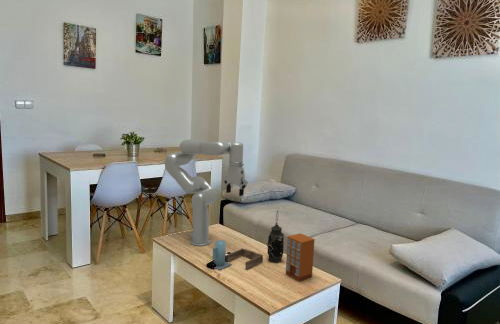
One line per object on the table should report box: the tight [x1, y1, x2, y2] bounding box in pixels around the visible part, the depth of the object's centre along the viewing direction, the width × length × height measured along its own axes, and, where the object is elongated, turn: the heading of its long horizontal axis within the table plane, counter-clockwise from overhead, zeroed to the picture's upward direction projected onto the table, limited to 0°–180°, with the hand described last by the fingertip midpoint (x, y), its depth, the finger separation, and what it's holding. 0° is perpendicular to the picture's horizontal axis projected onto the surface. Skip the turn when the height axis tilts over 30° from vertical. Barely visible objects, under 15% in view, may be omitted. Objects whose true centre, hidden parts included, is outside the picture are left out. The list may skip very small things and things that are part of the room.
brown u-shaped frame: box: [225, 248, 264, 271], centre depth 206 cm, size 14×14×4 cm
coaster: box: [213, 261, 233, 271], centre depth 201 cm, size 9×9×1 cm
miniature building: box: [285, 232, 316, 282], centre depth 191 cm, size 10×9×20 cm
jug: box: [212, 239, 227, 266], centre depth 200 cm, size 8×6×12 cm
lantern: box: [266, 210, 285, 263], centre depth 209 cm, size 10×9×28 cm
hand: (234, 194), depth 218 cm, fingers open, 9 cm apart
